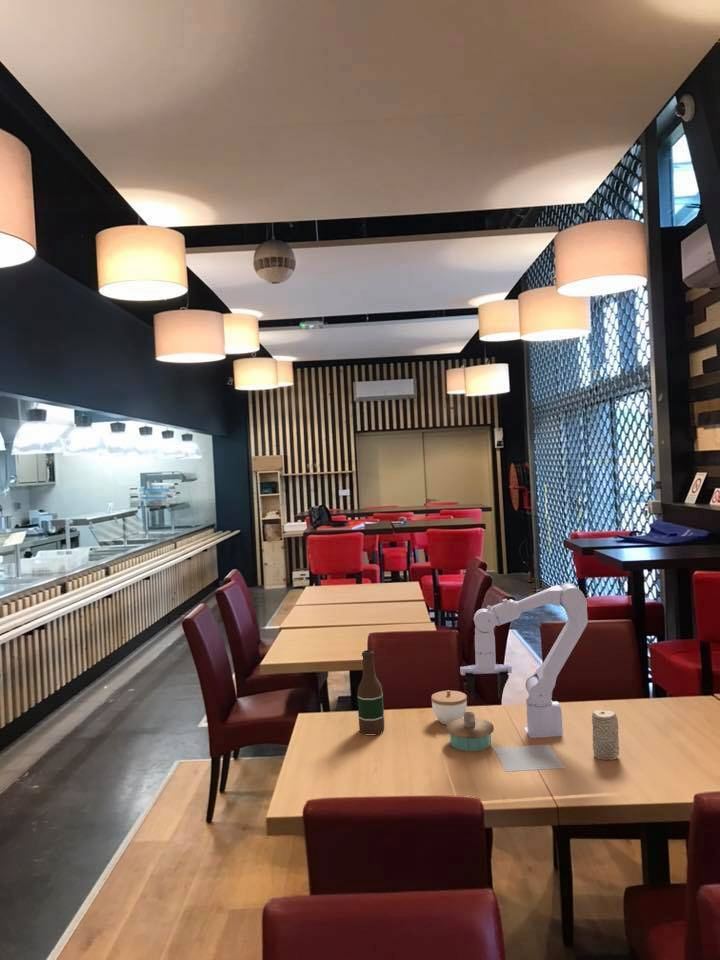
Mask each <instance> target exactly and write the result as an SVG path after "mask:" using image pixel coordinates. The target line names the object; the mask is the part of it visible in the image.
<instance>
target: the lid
mask: <svg viewBox="0 0 720 960" xmlns="http://www.w3.org/2000/svg"><path fill="white" fill-rule="evenodd" d="M475 715H476V714H475V712H472V711H466V713H464V717H463V718H462V719H457V720H453V721H451V722H449V723H448V724H447V725H446V732H447V733H448V734H449V735H450V734H451V735H453V736H456V737H460V738H480V737H484V736H487V735H490V734H492V733H493V732H494V730H495V729H494V728H495V727H494V724H493V723H492V722H490V721H488V720H486V719H483V718H478V717H477V718H476V716H475Z"/></svg>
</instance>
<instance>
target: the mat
mask: <svg viewBox="0 0 720 960" xmlns="http://www.w3.org/2000/svg"><path fill="white" fill-rule="evenodd" d="M493 750H494V752H495V753H496V756H497V759H498V760H499V762H500V763H501V766H502V768H503V769H504V772H506V773H509V772H511V773H512V772H523V771H525V772H526V771H541V770H542V771H543V770H555V769H557V770H559V769H565V768H566V767H565V766H564V764H563V762H561V760H560V759H559V758H558V755H556V752H554V750H553V749H552V748H551V746H550V745H549V744H537V745H536V744H534V745H521V746H503V747H494V748H493Z"/></svg>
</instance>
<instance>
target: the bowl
mask: <svg viewBox="0 0 720 960" xmlns="http://www.w3.org/2000/svg"><path fill="white" fill-rule="evenodd" d="M491 734H492V733H491ZM491 734H490V735H487V736H484V737H480V738H460V737H456V736H453V735H451V734H449V743H450V745H451V747H453V748H454V749H456V750H460V751H464V752H477V751H478V752H479V751H481V750H482V751H483V750H485V749H488V748H489V747H490V746H491V744H492V735H491Z"/></svg>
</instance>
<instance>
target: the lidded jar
mask: <svg viewBox="0 0 720 960" xmlns="http://www.w3.org/2000/svg"><path fill="white" fill-rule="evenodd" d="M430 699H431V705H432V706H431V707H432V711H433V714H434V716H435V718H436V719H437V720H439V723H441V724H443V725H446V726H447V724H448V723H449V722H451V721H453V720H457V719H462V718H464V713H466V712H467V703H468V701H467V700H468V698H467V694H465V693H464V692H462V691H459V690H450V689H448V690H442V691H441V690H440V691H437V692H435V693H432V695H431V698H430Z"/></svg>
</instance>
